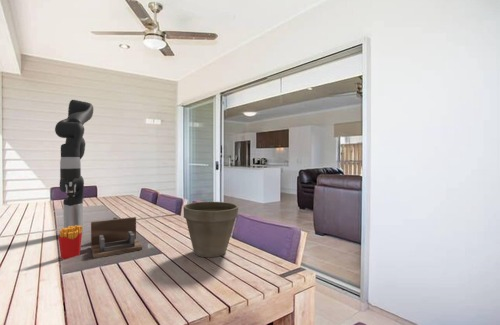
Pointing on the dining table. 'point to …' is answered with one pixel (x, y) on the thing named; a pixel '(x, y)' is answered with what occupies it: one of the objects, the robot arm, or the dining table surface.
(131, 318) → the dining table surface
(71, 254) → the french fries
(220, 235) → the plant pot
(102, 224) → the wooden shelf
